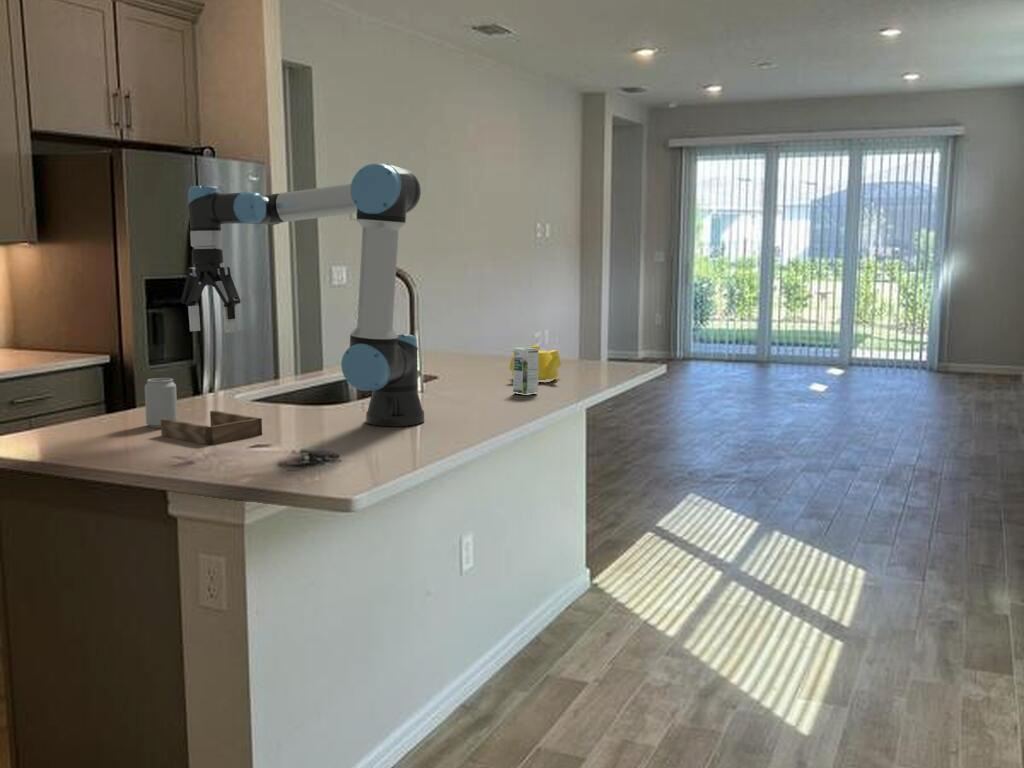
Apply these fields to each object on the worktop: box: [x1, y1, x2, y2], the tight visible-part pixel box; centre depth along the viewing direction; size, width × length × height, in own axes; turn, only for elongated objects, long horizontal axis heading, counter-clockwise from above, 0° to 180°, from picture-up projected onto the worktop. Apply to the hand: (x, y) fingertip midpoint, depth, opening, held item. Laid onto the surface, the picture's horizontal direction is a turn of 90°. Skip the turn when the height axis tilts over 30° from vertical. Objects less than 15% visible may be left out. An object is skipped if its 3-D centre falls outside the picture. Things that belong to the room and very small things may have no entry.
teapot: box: [508, 345, 562, 380], centre depth 329 cm, size 17×17×12 cm
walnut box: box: [160, 410, 263, 446], centre depth 233 cm, size 18×15×4 cm
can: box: [144, 377, 179, 429], centre depth 244 cm, size 8×8×12 cm
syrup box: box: [512, 346, 539, 394], centre depth 298 cm, size 6×6×14 cm
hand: (212, 331), depth 248 cm, fingers open, 13 cm apart
